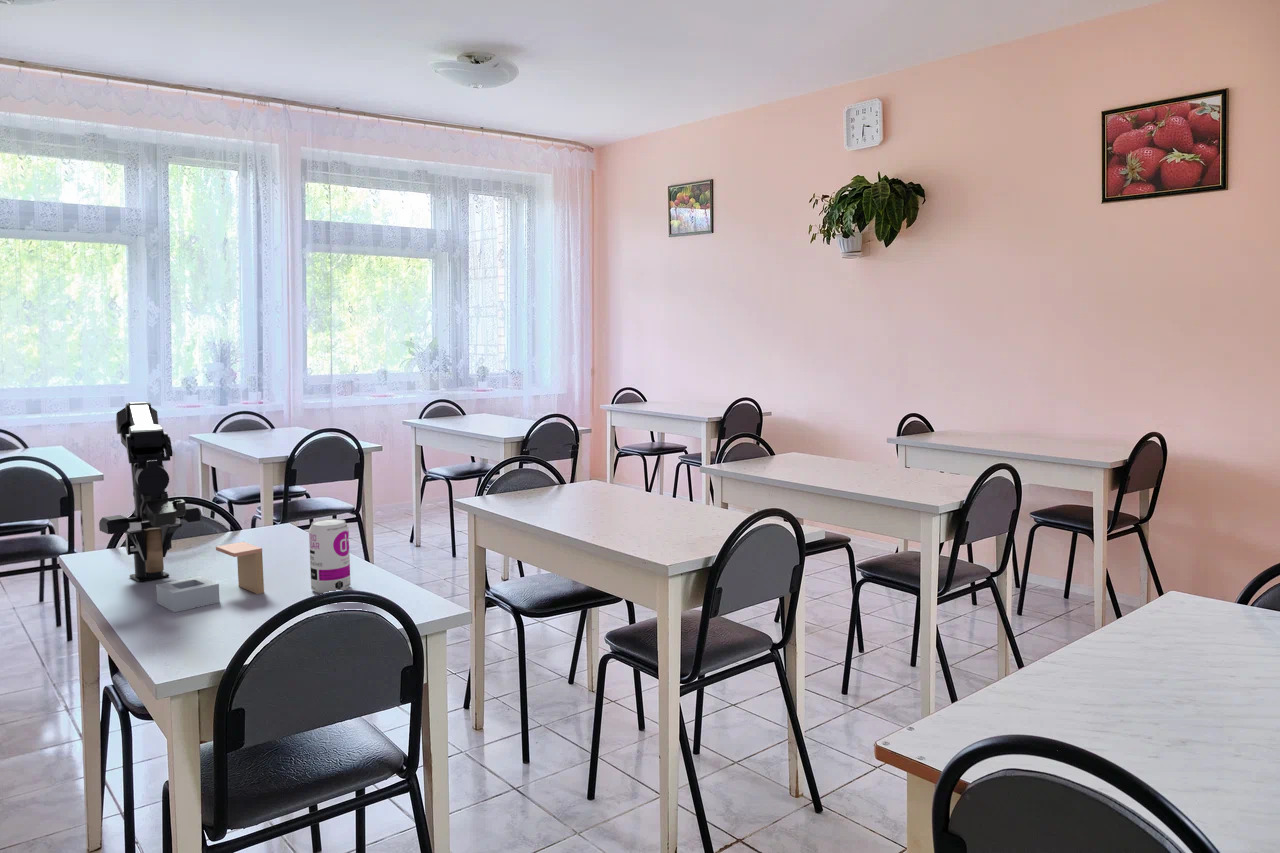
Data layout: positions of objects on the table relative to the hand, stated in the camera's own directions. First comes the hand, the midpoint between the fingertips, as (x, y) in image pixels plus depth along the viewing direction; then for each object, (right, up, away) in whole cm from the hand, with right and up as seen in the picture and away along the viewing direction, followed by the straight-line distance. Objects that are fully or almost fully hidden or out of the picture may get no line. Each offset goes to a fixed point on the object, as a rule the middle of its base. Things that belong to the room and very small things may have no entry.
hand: (154, 558), depth 195 cm
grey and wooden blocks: (+13, -8, -2) cm, 16 cm away
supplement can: (+37, -8, +4) cm, 38 cm away
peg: (0, -3, 0) cm, 3 cm away
